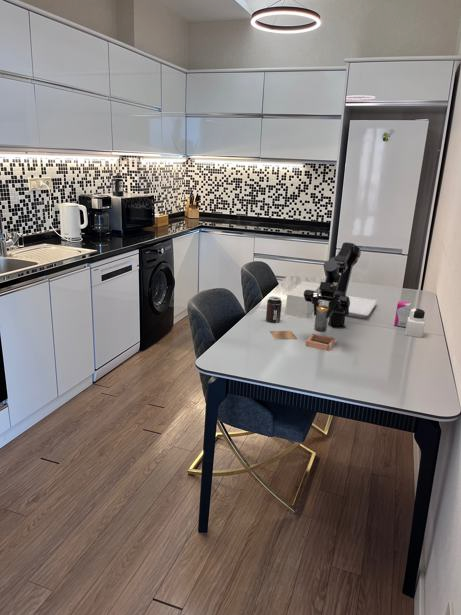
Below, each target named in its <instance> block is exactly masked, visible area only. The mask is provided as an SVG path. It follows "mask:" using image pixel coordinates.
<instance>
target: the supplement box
mask: <svg viewBox="0 0 461 615" xmlns="http://www.w3.org/2000/svg"><path fill="white" fill-rule="evenodd" d="M411 304H412V303H411V302H407V301H398V302H397V304H396V312H395V317H394V324H393V327H400V328H403V329H406V324H407V319H408V317H410V312H411Z"/></svg>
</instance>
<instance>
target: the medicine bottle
mask: <svg viewBox="0 0 461 615" xmlns="http://www.w3.org/2000/svg"><path fill="white" fill-rule="evenodd" d="M425 314H426V312H425V311H424V310H423V309H422V308H412V309H410V311H409V317H408V319H407V324H406V328H405V336H407V337H414V338H423V335H424V330H425V326H426V323H425Z"/></svg>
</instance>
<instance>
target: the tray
mask: <svg viewBox="0 0 461 615" xmlns="http://www.w3.org/2000/svg"><path fill="white" fill-rule="evenodd" d="M347 296H348V297H349V299H350V306H349V315H346V316H348V317H352V318H358V319H364V318H366V317H368V316H370V314H371V312H372V311H373V309H374V307H375V306H376V304H377V302H378V300H377V299H372V298H371V299H370V298H365V297H359V296H358V297H357V296H349V295H347ZM344 312H345V311H344ZM346 316H345V317H346Z"/></svg>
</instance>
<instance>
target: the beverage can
mask: <svg viewBox="0 0 461 615" xmlns="http://www.w3.org/2000/svg"><path fill="white" fill-rule="evenodd" d="M281 299H282V298H281V297H279V296H273V295H272V296H268V299H267V301H266V312H265V322H267V323H271V324H278V323H281V317H282V305H283V302H282V300H281Z"/></svg>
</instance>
